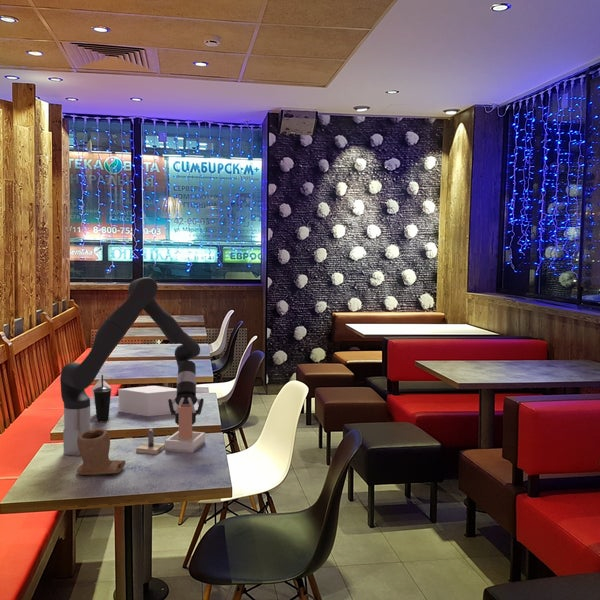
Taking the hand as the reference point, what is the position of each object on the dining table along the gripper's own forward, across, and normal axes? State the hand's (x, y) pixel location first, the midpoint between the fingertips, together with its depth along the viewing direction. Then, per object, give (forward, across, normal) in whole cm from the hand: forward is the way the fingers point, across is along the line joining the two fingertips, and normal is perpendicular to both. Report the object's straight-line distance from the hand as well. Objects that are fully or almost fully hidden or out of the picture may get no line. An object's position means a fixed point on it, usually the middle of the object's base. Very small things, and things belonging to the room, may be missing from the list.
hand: (185, 423), depth 248 cm
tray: (+6, 0, +8) cm, 10 cm away
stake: (+6, -13, +5) cm, 15 cm away
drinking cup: (-22, -37, +36) cm, 56 cm away
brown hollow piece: (+24, -28, -11) cm, 38 cm away
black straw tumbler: (-30, -39, +44) cm, 66 cm away
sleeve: (+3, 0, +5) cm, 6 cm away
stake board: (+7, -13, +6) cm, 16 cm away
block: (-31, -17, +45) cm, 57 cm away
